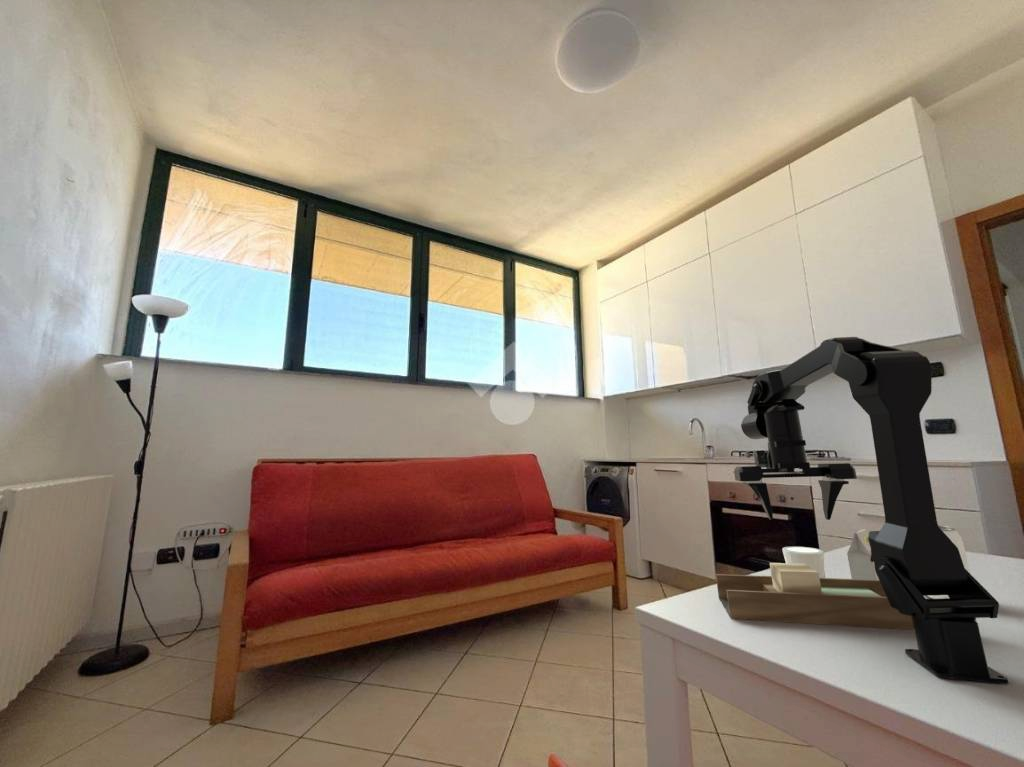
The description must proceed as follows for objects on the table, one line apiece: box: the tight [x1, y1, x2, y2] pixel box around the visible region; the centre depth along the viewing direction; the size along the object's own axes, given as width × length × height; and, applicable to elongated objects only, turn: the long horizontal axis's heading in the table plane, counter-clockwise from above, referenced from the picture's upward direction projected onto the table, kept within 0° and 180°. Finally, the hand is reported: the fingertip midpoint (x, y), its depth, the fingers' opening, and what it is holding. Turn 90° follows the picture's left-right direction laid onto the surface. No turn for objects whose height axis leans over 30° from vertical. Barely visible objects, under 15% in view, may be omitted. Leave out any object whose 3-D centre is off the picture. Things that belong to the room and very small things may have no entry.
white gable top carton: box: [846, 528, 879, 580], centre depth 82 cm, size 4×7×10 cm, turn 126°
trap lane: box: [715, 573, 914, 631], centre depth 67 cm, size 10×30×4 cm, turn 73°
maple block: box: [769, 562, 822, 594], centre depth 69 cm, size 6×6×4 cm
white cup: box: [781, 545, 826, 578], centre depth 81 cm, size 7×7×7 cm
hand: (798, 519), depth 76 cm, fingers open, 9 cm apart
